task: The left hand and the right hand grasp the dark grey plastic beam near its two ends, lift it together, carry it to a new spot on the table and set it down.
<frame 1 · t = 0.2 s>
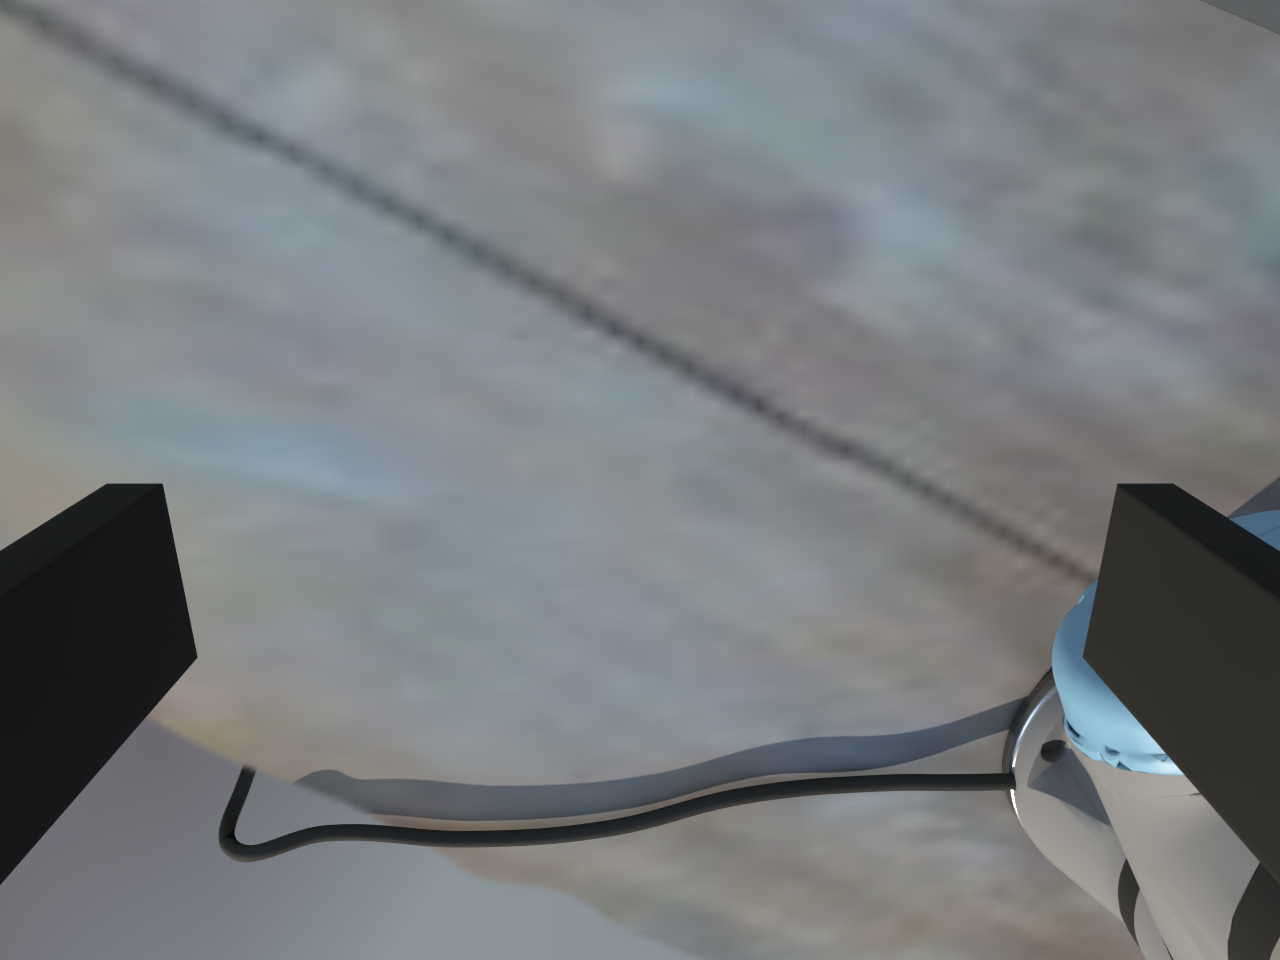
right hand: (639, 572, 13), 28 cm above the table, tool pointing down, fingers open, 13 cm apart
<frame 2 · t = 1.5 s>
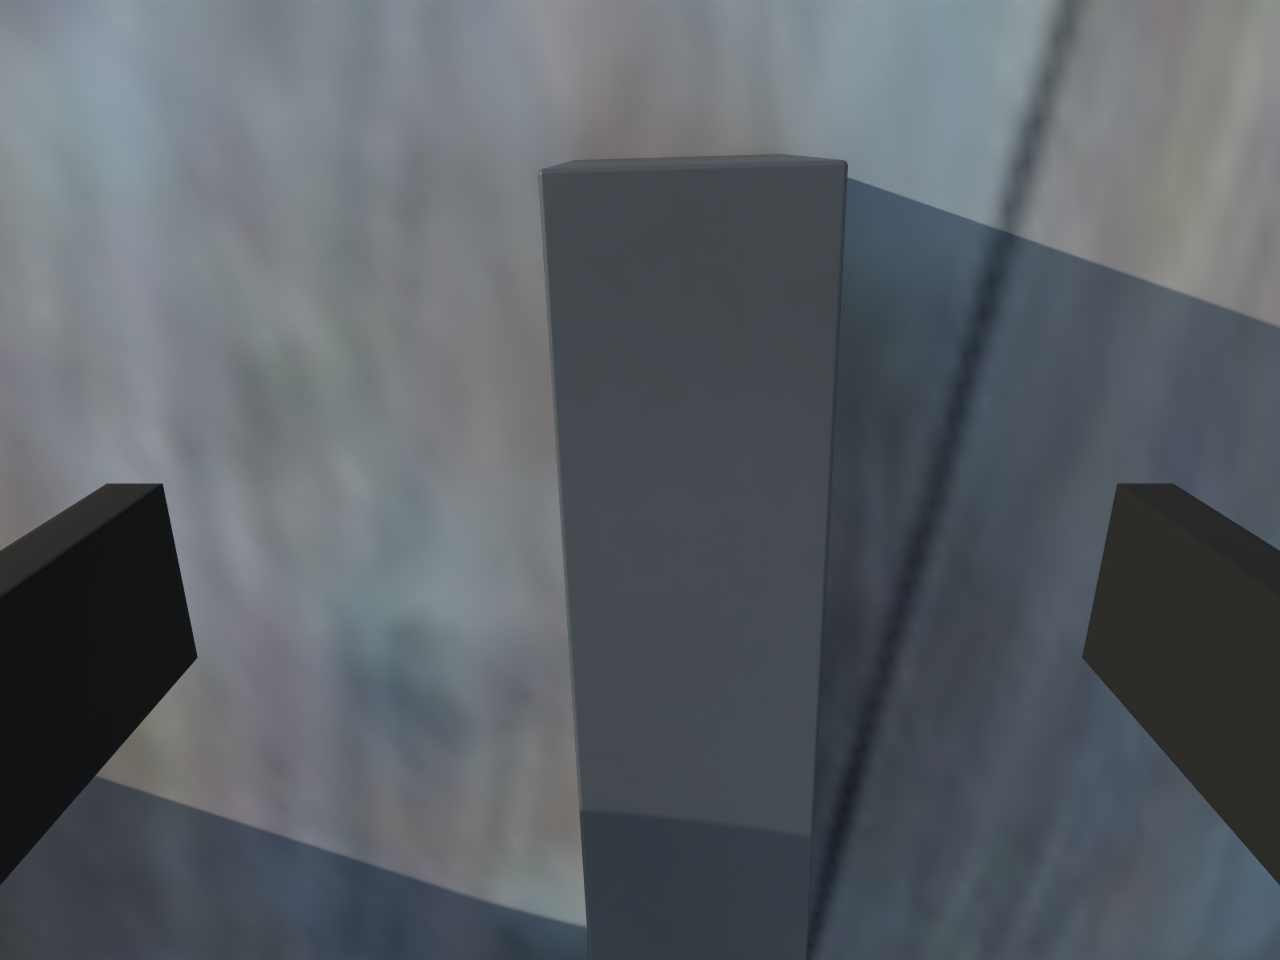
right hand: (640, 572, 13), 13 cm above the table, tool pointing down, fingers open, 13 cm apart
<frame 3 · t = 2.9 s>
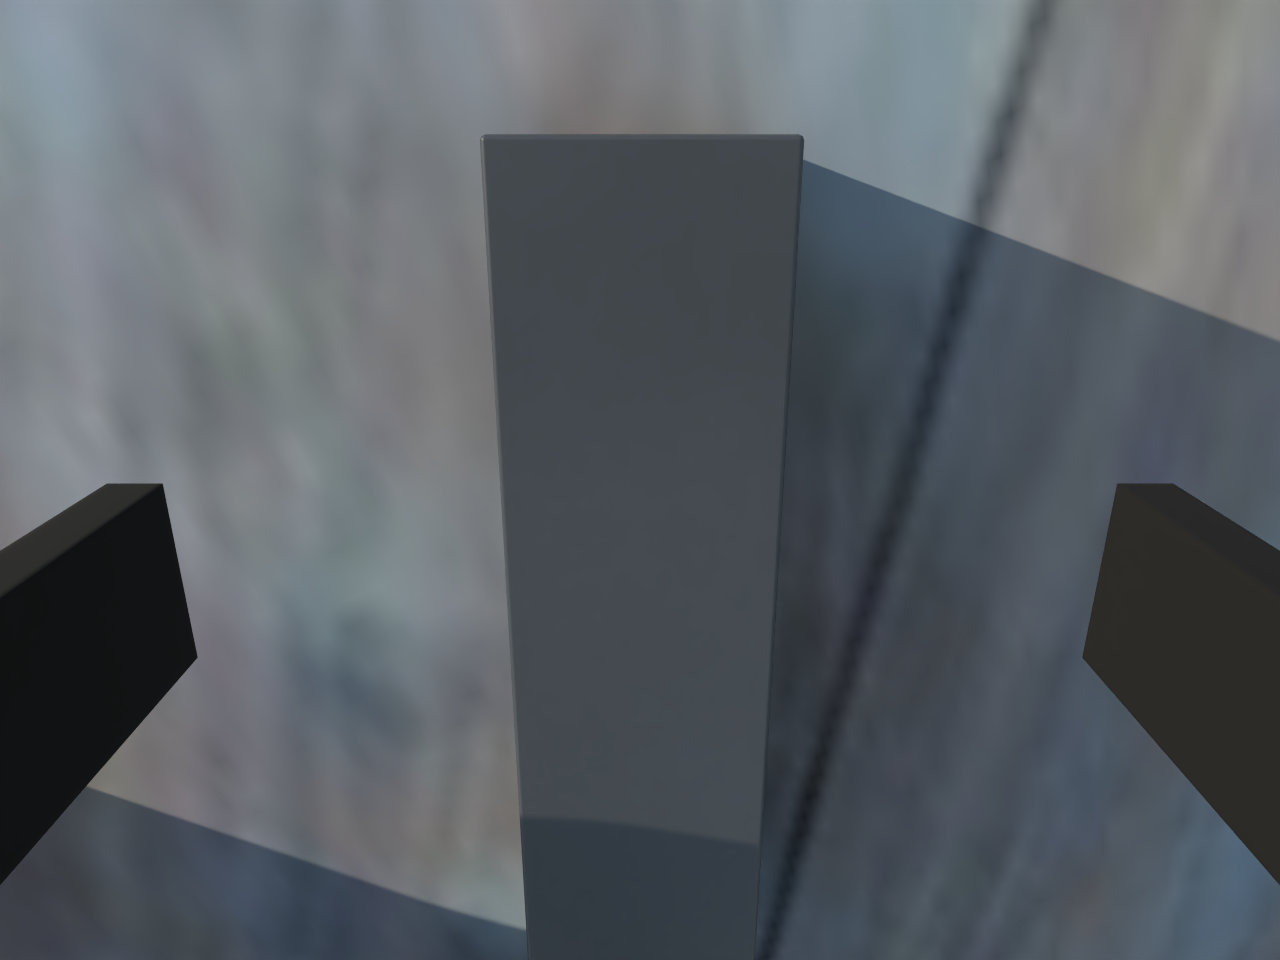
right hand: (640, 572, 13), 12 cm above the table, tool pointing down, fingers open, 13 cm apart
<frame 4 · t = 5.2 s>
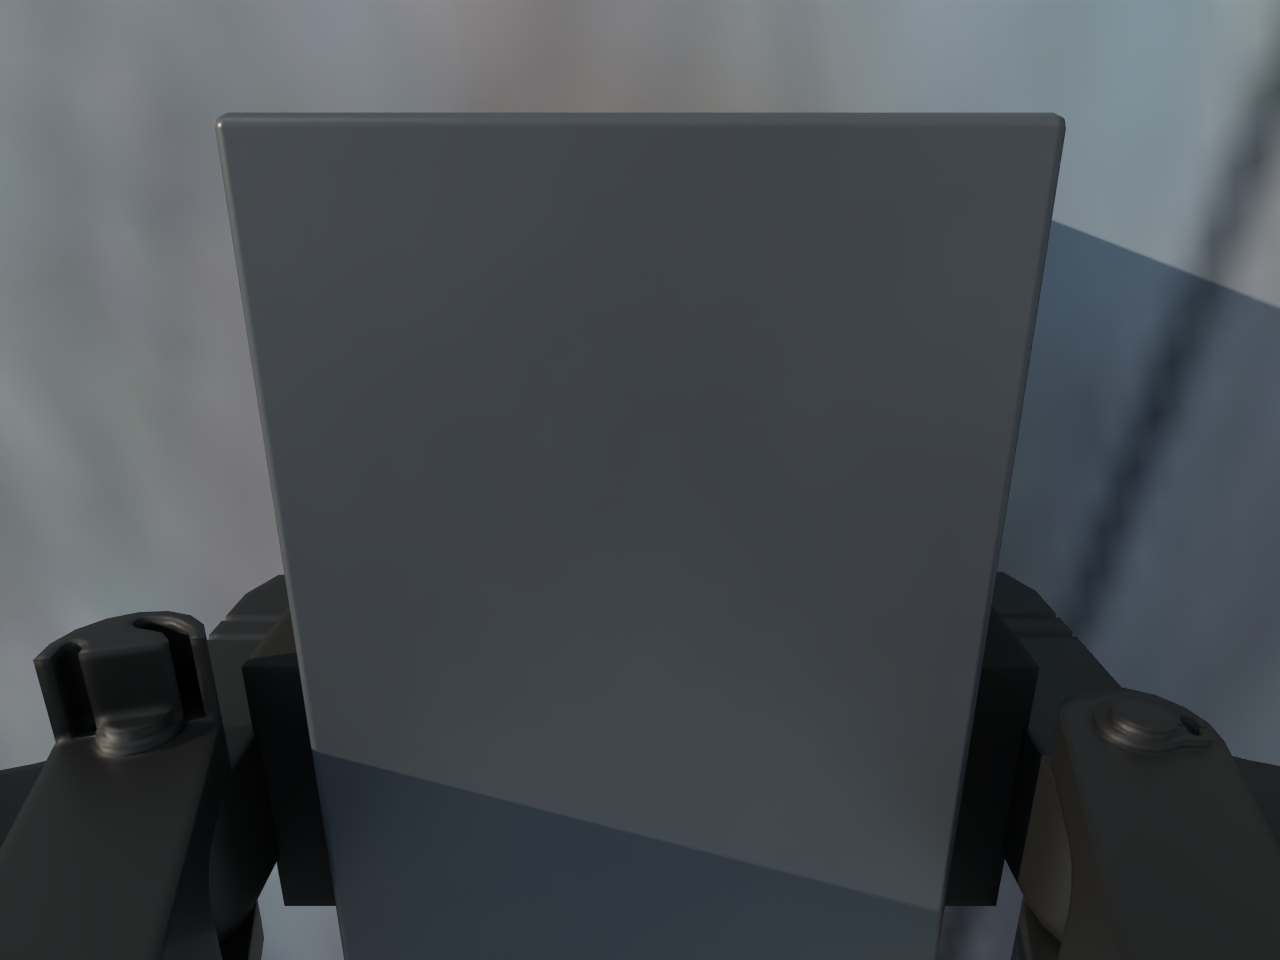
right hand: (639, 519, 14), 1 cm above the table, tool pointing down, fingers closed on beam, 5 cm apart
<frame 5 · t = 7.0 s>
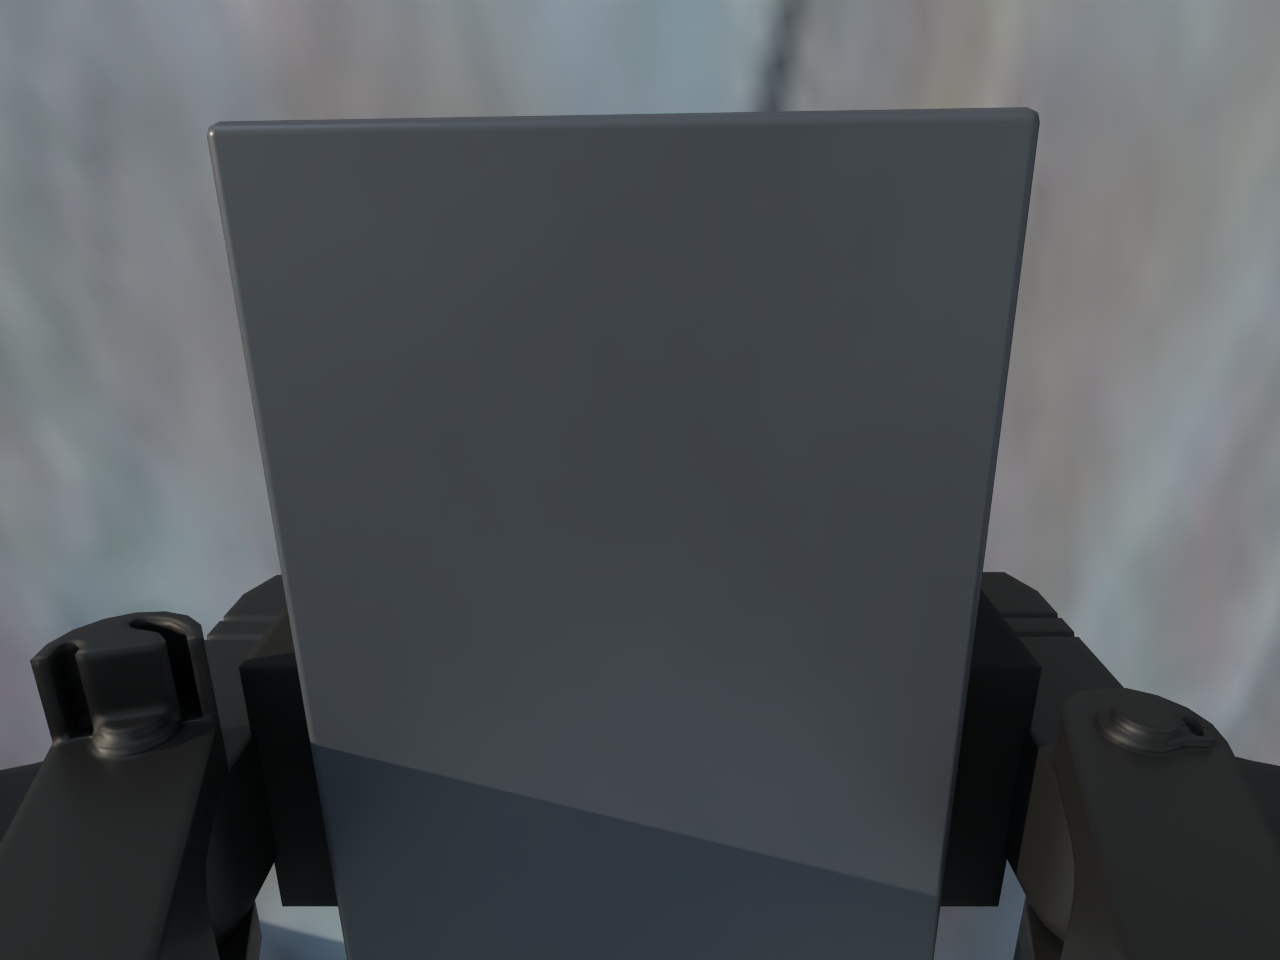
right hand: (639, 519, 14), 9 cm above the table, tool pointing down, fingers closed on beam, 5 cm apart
when the left hand's fingers open (2 cm above the table, at t = 9.2 s): beam drops 1 cm, on the table.
when the right hand's fingers open (2 cm above the table, at t = 9.2 s): beam drops 1 cm, on the table.
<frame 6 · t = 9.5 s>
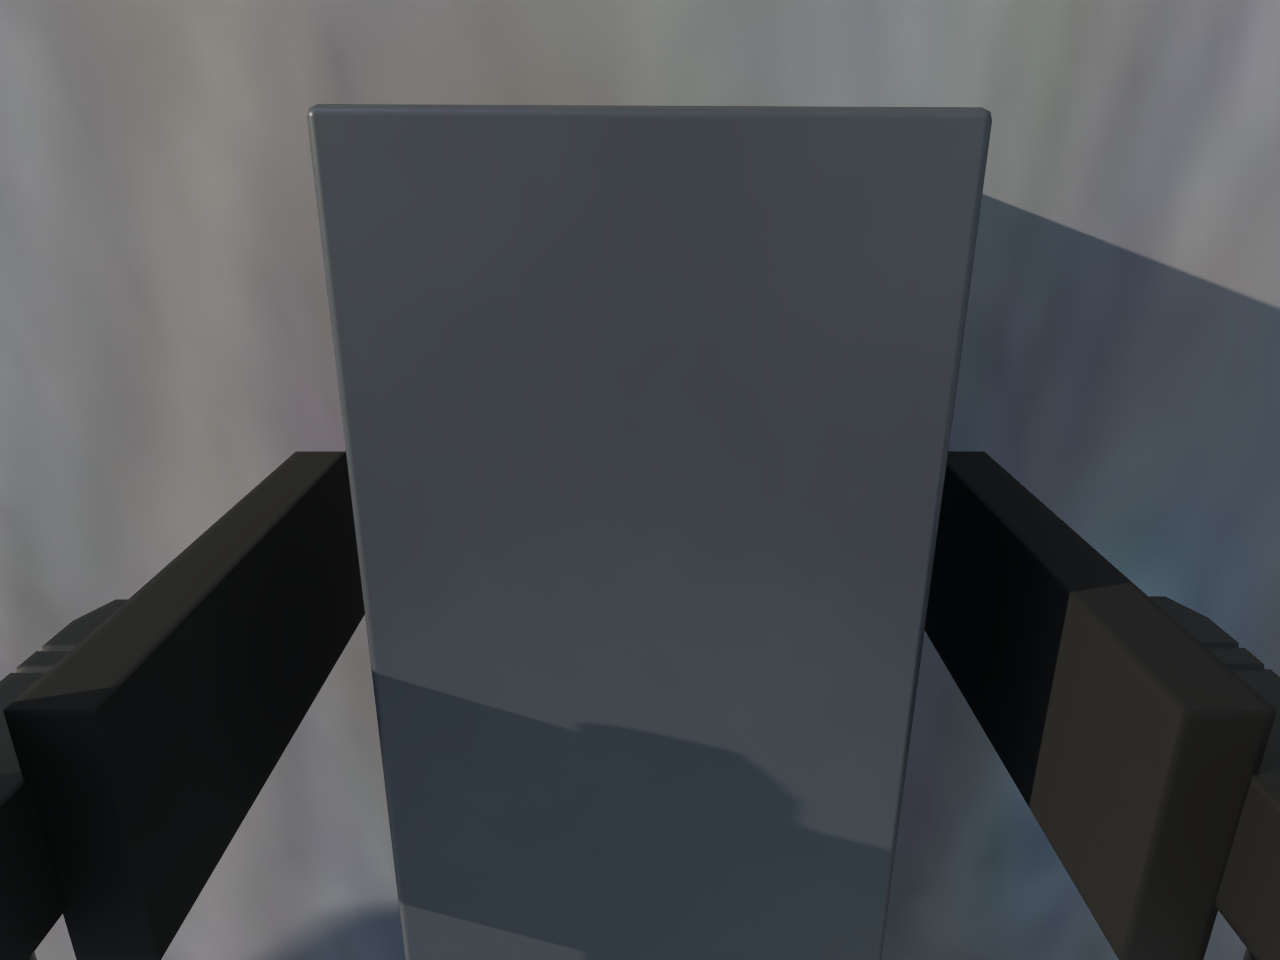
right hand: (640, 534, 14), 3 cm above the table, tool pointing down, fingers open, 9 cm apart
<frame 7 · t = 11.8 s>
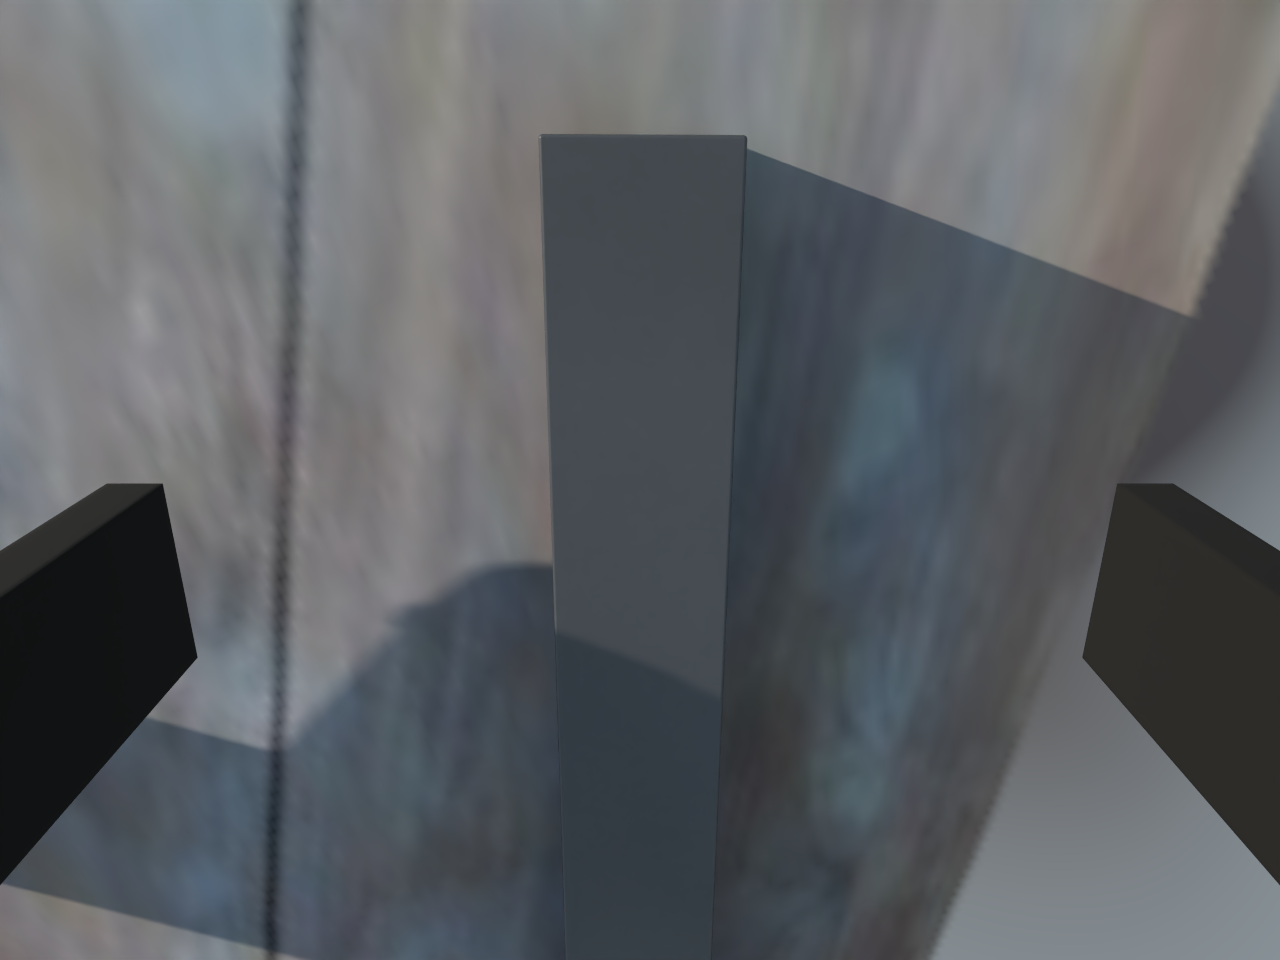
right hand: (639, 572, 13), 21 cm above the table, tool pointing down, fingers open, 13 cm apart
beam: (638, 819, 40), on the table
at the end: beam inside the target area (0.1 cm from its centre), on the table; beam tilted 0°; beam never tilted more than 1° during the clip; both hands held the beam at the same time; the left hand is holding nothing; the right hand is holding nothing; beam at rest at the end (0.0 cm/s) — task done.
